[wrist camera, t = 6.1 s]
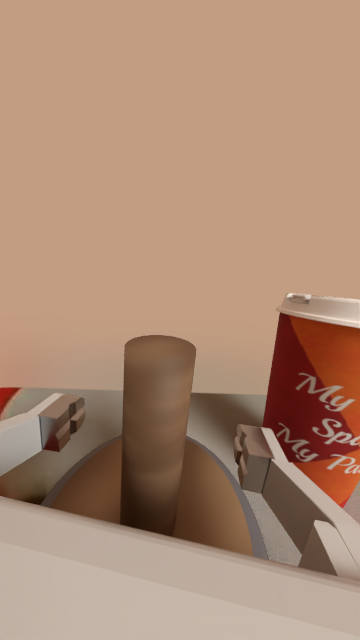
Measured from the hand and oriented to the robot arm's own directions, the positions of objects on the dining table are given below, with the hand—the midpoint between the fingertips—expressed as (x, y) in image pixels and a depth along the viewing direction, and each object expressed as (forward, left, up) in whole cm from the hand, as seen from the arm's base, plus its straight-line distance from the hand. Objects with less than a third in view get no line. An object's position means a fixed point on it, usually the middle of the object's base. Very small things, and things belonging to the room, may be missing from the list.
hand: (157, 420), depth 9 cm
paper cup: (+9, +7, -7) cm, 14 cm away
